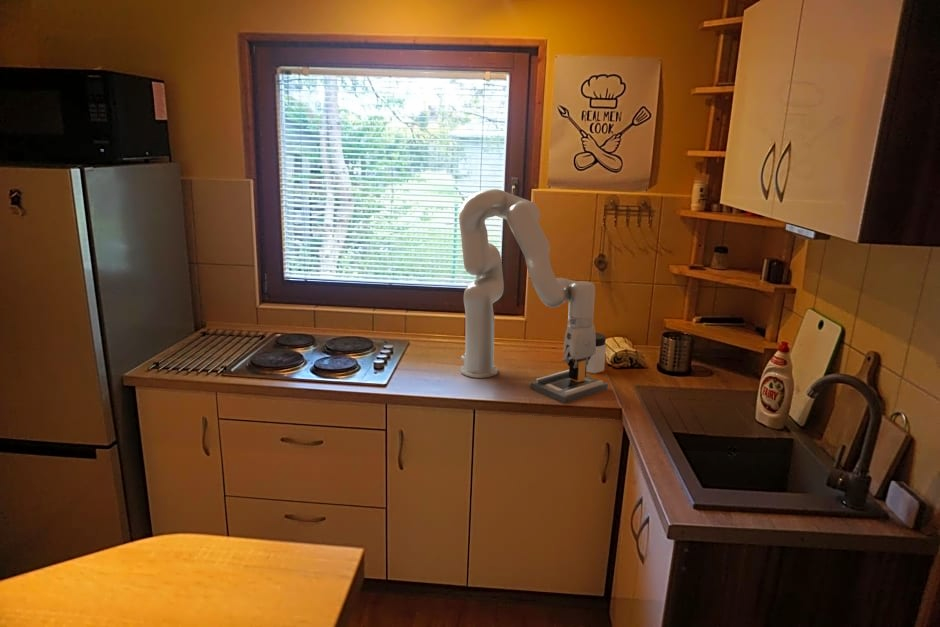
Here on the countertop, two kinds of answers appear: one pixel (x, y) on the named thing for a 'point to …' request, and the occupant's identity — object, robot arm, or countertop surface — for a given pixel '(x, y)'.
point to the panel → (567, 388)
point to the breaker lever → (580, 369)
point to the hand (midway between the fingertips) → (577, 376)
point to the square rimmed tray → (564, 374)
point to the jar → (597, 355)
